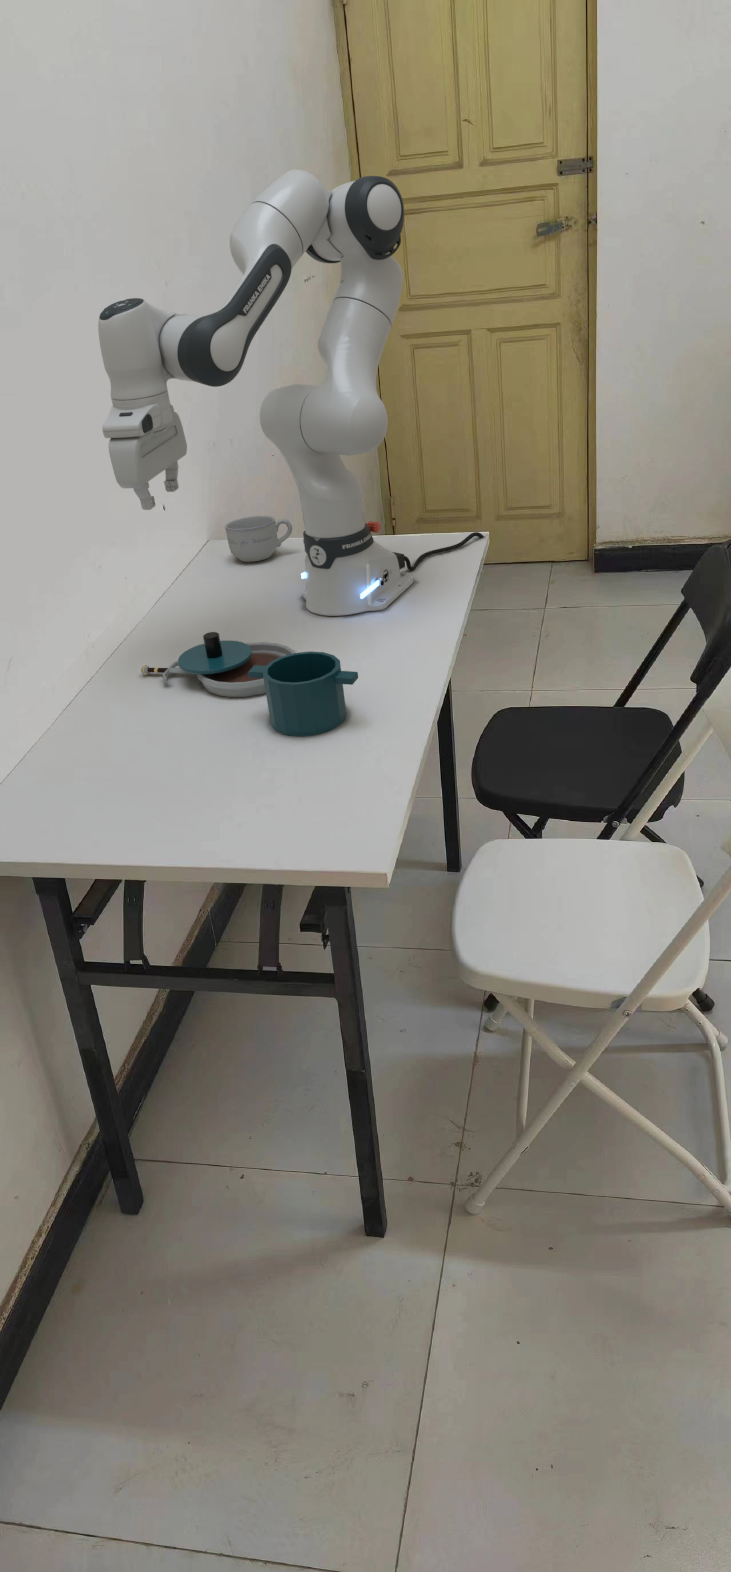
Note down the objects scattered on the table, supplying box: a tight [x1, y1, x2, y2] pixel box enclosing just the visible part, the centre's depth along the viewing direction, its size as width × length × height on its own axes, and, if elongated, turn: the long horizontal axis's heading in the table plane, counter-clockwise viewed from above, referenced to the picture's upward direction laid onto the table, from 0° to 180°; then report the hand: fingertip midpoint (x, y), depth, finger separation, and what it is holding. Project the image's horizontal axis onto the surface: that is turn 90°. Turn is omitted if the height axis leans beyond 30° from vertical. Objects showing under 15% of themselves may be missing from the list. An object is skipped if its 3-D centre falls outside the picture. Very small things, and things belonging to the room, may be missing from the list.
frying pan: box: [140, 641, 296, 698], centre depth 185 cm, size 17×3×28 cm
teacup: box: [224, 515, 293, 563], centre depth 235 cm, size 14×11×8 cm
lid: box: [177, 631, 252, 675], centre depth 183 cm, size 12×12×5 cm
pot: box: [248, 650, 359, 737], centre depth 166 cm, size 11×17×8 cm
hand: (161, 499), depth 182 cm, fingers open, 8 cm apart
